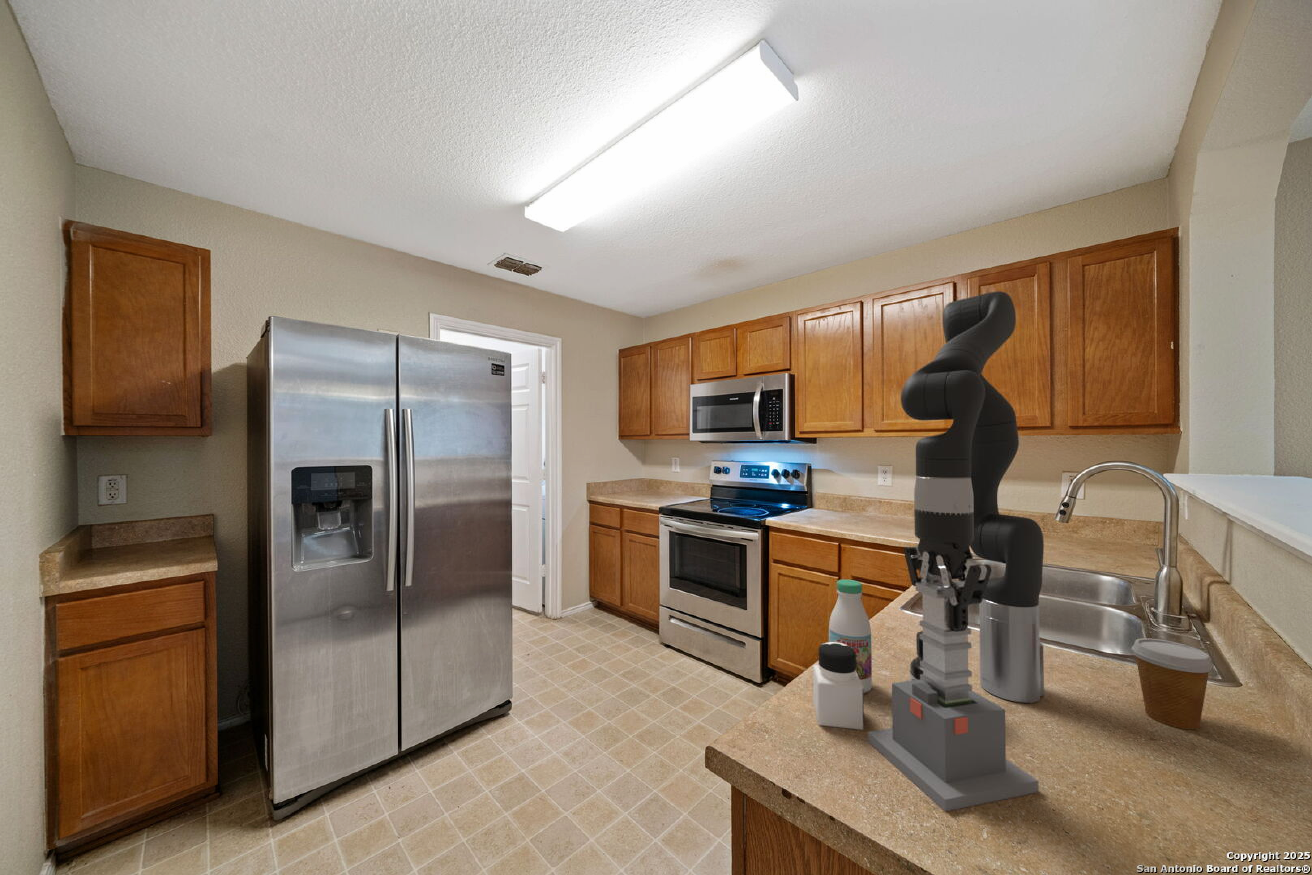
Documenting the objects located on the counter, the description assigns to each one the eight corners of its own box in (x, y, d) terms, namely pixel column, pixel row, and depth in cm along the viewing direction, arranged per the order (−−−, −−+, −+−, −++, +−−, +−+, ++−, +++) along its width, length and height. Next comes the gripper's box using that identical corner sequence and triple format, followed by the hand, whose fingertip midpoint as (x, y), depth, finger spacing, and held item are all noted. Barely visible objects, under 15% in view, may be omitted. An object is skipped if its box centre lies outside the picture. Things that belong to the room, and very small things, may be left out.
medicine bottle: (864, 730, 79) (863, 656, 79) (818, 725, 80) (818, 653, 80) (855, 707, 86) (854, 639, 86) (813, 703, 87) (812, 636, 87)
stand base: (947, 728, 79) (946, 658, 80) (1038, 791, 65) (1037, 705, 65) (867, 741, 76) (867, 667, 76) (945, 811, 61) (944, 720, 62)
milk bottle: (822, 676, 98) (821, 576, 98) (859, 674, 98) (858, 576, 99) (840, 696, 90) (839, 588, 90) (879, 694, 90) (879, 587, 91)
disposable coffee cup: (1193, 711, 85) (1192, 642, 85) (1229, 741, 76) (1227, 664, 76) (1122, 699, 89) (1121, 633, 89) (1148, 727, 80) (1147, 654, 80)
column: (950, 699, 74) (949, 579, 74) (977, 715, 69) (975, 587, 69) (915, 704, 72) (914, 581, 72) (940, 721, 68) (938, 590, 68)
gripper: (1009, 513, 65) (1011, 641, 65) (927, 501, 79) (928, 607, 79) (963, 515, 63) (964, 646, 63) (887, 502, 77) (888, 610, 77)
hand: (944, 623), depth 71 cm, fingers closed on column, 4 cm apart
